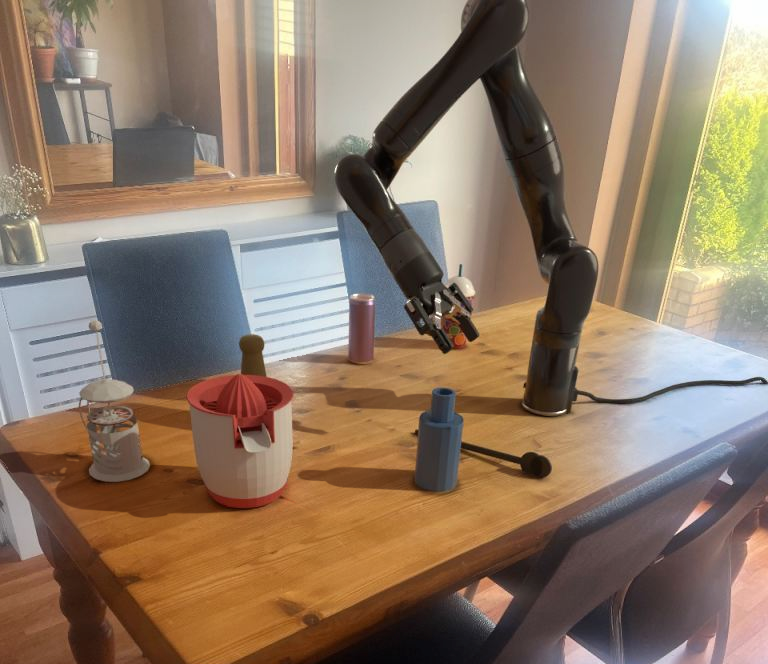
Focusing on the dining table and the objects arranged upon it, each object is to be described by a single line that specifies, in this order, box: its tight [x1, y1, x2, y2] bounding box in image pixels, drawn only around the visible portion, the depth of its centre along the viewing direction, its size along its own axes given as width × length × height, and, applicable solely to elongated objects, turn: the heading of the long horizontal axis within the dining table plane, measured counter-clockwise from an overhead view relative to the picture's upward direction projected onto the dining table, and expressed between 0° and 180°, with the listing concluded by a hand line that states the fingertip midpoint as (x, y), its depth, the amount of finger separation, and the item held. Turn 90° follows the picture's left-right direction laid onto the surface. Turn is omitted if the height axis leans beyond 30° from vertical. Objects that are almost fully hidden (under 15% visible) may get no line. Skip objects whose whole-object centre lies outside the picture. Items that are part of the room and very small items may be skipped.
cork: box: [238, 333, 268, 377], centre depth 151 cm, size 6×6×11 cm
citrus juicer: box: [186, 373, 294, 509], centre depth 110 cm, size 16×17×20 cm
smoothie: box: [440, 263, 477, 350], centre depth 177 cm, size 8×8×20 cm
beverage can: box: [347, 293, 376, 365], centre depth 166 cm, size 6×6×15 cm
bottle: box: [414, 387, 465, 493], centre depth 116 cm, size 7×7×16 cm
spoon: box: [414, 428, 553, 479], centre depth 129 cm, size 1×4×28 cm
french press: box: [78, 319, 151, 483], centre depth 115 cm, size 10×12×25 cm
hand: (462, 345), depth 122 cm, fingers open, 8 cm apart
